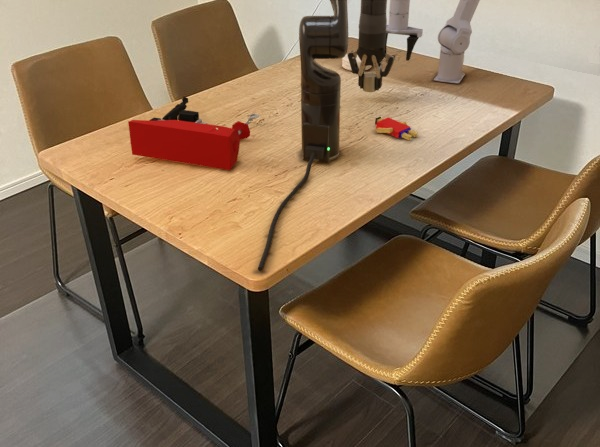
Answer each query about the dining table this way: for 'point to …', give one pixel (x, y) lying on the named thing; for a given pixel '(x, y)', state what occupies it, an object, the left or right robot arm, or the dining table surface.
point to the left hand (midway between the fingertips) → (369, 88)
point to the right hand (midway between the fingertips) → (395, 58)
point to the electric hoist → (188, 139)
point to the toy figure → (394, 128)
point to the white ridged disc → (347, 64)
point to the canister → (369, 82)
